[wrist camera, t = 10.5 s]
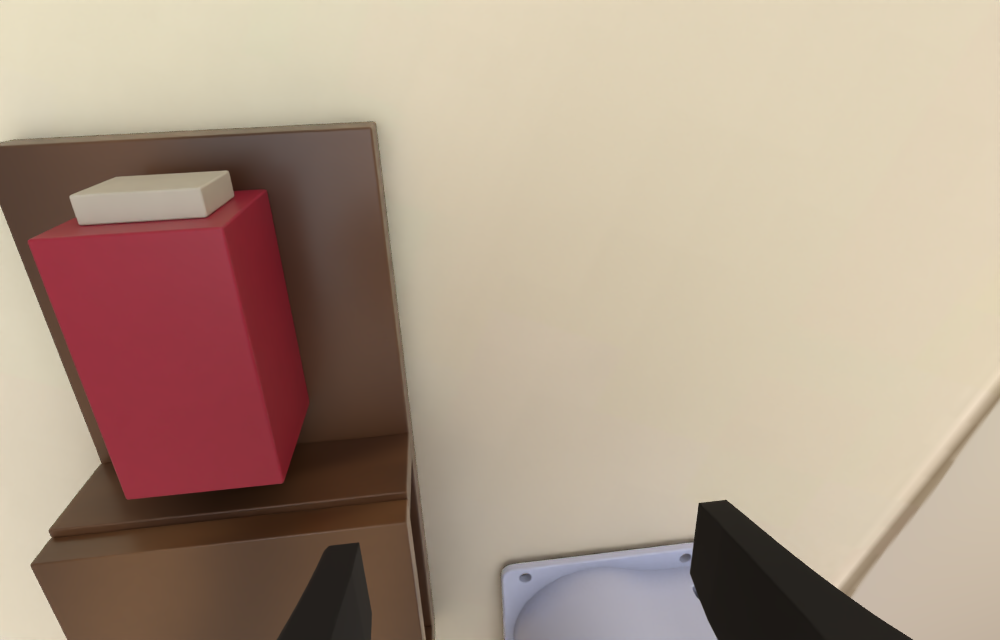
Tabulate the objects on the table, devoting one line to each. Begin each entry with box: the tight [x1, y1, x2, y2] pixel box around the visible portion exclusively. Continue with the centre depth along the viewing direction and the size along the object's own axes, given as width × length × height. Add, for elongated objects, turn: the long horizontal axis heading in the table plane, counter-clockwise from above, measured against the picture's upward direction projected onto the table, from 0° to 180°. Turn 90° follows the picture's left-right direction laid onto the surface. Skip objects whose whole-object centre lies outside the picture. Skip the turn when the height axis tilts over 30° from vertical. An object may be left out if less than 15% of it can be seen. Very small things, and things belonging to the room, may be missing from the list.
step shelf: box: [0, 122, 435, 640], centre depth 19 cm, size 10×21×6 cm, turn 2°
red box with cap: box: [28, 171, 310, 500], centre depth 16 cm, size 4×8×4 cm, turn 2°
